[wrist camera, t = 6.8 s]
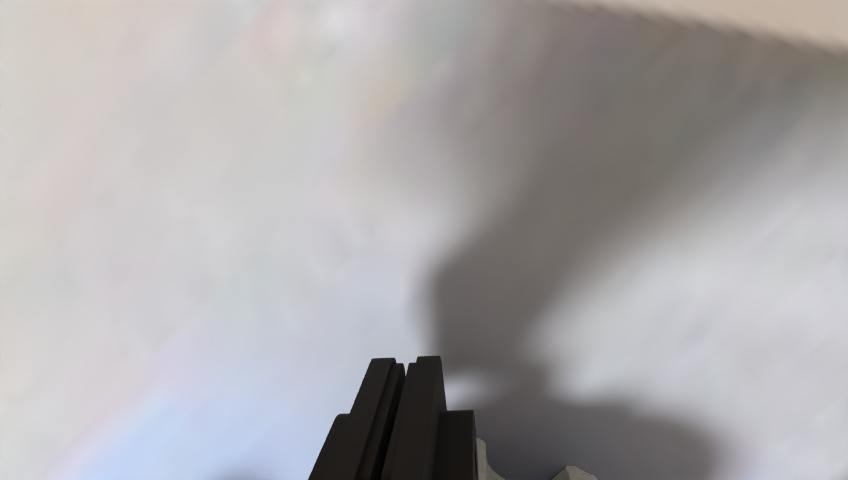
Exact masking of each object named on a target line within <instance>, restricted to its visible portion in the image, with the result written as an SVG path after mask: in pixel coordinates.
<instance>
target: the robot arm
mask: <svg viewBox="0 0 848 480" xmlns="http://www.w3.org/2000/svg"><path fill="white" fill-rule="evenodd" d="M308 480H479V478H478V455H477V441H476V430H475V419H474V411H473V410H461V411H447V408H446V399H445V390H444V381H443V372H442V363H441V357H440V356H420V357H417V361H416V363H409V366H408V370H407V374H406V376H405V369H404V365H403V363H396V360H395V358H374V359H372V360H371V362H370V364H369V367H368V369H367V372H366V374H365V377H364V379H363V382H362V384H361V387H360V389H359V392H358V394H357V397H356V399H355V402H354V404H353V407H352V409H351V411H350V414H339V415H337V417H336V418H335V420H334V422H333V424H332V427H331V429H330V431H329V434H328V436H327V438H326V440H325V443H324V445H323V447H322V449H321V452H320V454H319V456H318V458H317V461H316V463H315V465H314V467H313V470H312V472H311V474H310V476H309V479H308Z"/></svg>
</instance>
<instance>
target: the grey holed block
mask: <svg viewBox="0 0 848 480" xmlns="http://www.w3.org/2000/svg"><path fill="white" fill-rule="evenodd" d="M476 441H477V455H478V478H479V480H506V479H504V478H502V477H500V476H499V475H498V474H496V473H495V472H494V471H493V469H492V468H491V467H490V465H489V463H488V462H487V458H486V443H485V442H484V441H483V440H481V439H479V438H477V437H476ZM553 480H598V479H597V478H596V477H595V476H594V475H592V474H590V473H587V472H585V471H583V470H581V469H579V468H577V467H575V466H566V467H565V468H564V469H563V470H562V471H561V472H560V473H559V474H558V475H557V476H556V477H555V478H554V479H553Z"/></svg>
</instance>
